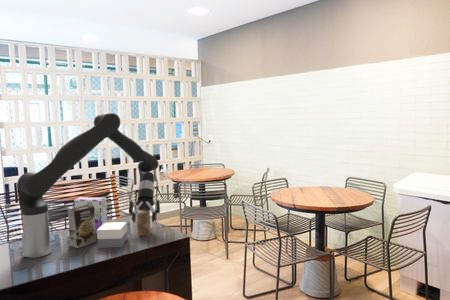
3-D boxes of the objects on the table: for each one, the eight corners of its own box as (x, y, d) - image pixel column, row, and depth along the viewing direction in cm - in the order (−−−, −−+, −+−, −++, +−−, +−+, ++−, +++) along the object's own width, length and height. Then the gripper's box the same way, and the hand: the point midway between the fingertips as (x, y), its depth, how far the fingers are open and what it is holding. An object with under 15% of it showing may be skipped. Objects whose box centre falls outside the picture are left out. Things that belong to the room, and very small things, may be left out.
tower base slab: (98, 248, 149) (97, 239, 149) (104, 240, 159) (104, 231, 158) (122, 247, 150) (121, 238, 149) (127, 239, 160) (126, 230, 159)
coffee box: (77, 248, 148) (75, 211, 147) (69, 245, 152) (66, 208, 151) (96, 242, 156) (94, 206, 154) (88, 239, 160) (86, 204, 158)
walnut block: (138, 236, 162) (137, 212, 161) (139, 232, 167) (138, 209, 166) (149, 235, 163) (148, 212, 161) (150, 232, 167) (149, 209, 166)
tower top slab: (97, 239, 149) (96, 229, 149) (105, 231, 159) (104, 222, 159) (121, 238, 149) (120, 229, 149) (127, 230, 159) (126, 222, 159)
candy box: (75, 233, 168) (72, 199, 166) (82, 229, 174) (79, 196, 172) (102, 234, 166) (100, 200, 164) (108, 230, 172) (106, 197, 170)
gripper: (130, 188, 170) (126, 218, 160) (159, 187, 171) (158, 216, 161) (132, 196, 176) (129, 225, 166) (161, 195, 177) (159, 224, 167)
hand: (143, 221), depth 164 cm, fingers open, 8 cm apart
